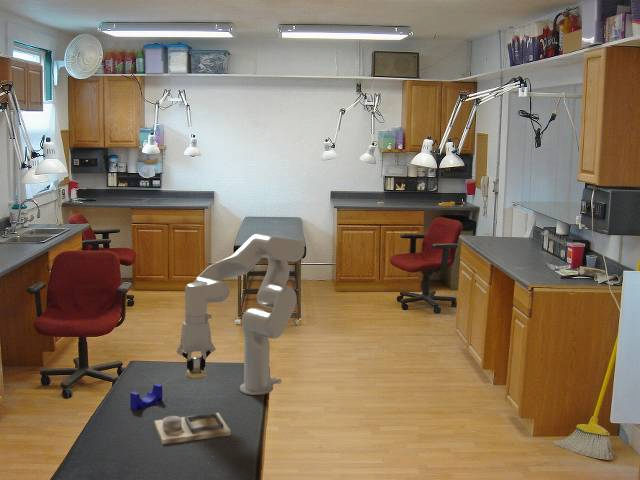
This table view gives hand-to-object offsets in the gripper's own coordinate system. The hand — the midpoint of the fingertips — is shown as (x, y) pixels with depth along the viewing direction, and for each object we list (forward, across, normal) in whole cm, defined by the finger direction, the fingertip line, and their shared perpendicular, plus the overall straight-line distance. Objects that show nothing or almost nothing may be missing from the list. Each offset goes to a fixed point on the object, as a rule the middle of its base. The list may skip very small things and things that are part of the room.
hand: (196, 369), depth 263 cm
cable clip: (+16, +16, -12) cm, 25 cm away
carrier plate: (+15, +4, +15) cm, 22 cm away
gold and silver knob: (+2, 0, 0) cm, 2 cm away
